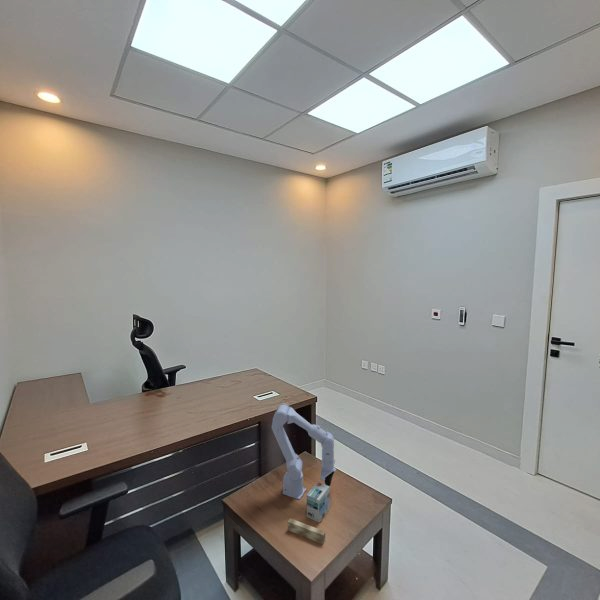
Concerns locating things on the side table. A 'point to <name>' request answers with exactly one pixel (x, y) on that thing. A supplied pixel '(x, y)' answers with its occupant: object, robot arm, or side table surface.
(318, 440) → the robot arm
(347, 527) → the side table surface
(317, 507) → the light bulb box
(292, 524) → the metal block
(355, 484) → the side table surface
